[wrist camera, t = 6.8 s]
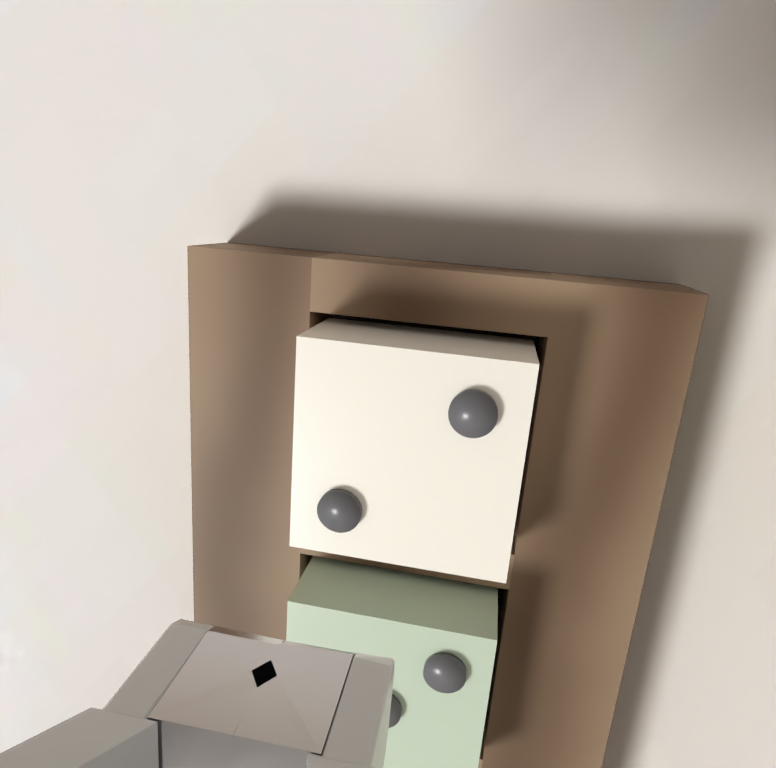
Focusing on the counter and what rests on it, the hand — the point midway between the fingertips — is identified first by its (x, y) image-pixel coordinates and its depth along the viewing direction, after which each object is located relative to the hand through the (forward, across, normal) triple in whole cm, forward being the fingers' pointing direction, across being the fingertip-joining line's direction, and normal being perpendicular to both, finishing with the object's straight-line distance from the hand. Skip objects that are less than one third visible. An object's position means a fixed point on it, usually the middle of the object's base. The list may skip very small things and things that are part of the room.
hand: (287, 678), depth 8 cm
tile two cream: (+11, -1, 0) cm, 11 cm away
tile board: (+12, -1, +8) cm, 15 cm away
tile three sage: (+11, -1, +8) cm, 13 cm away
